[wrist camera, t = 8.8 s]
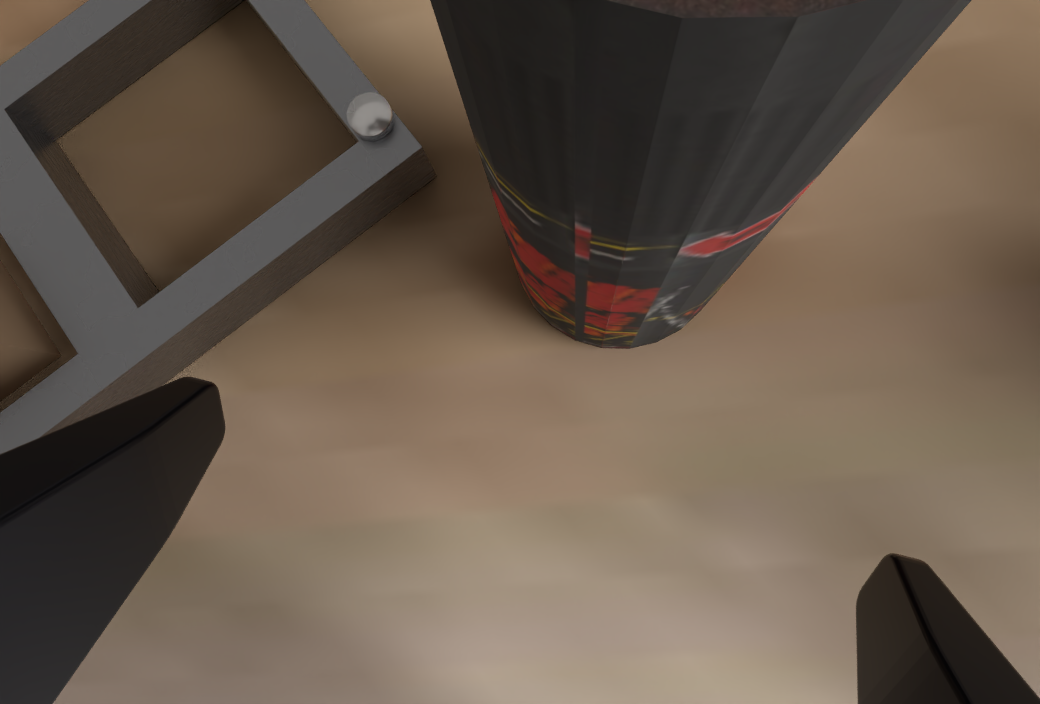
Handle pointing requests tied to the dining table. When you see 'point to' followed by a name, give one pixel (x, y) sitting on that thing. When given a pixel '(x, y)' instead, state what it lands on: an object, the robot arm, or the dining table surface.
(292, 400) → the dining table surface
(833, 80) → the deodorant
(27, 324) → the walnut block
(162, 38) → the grey tray
